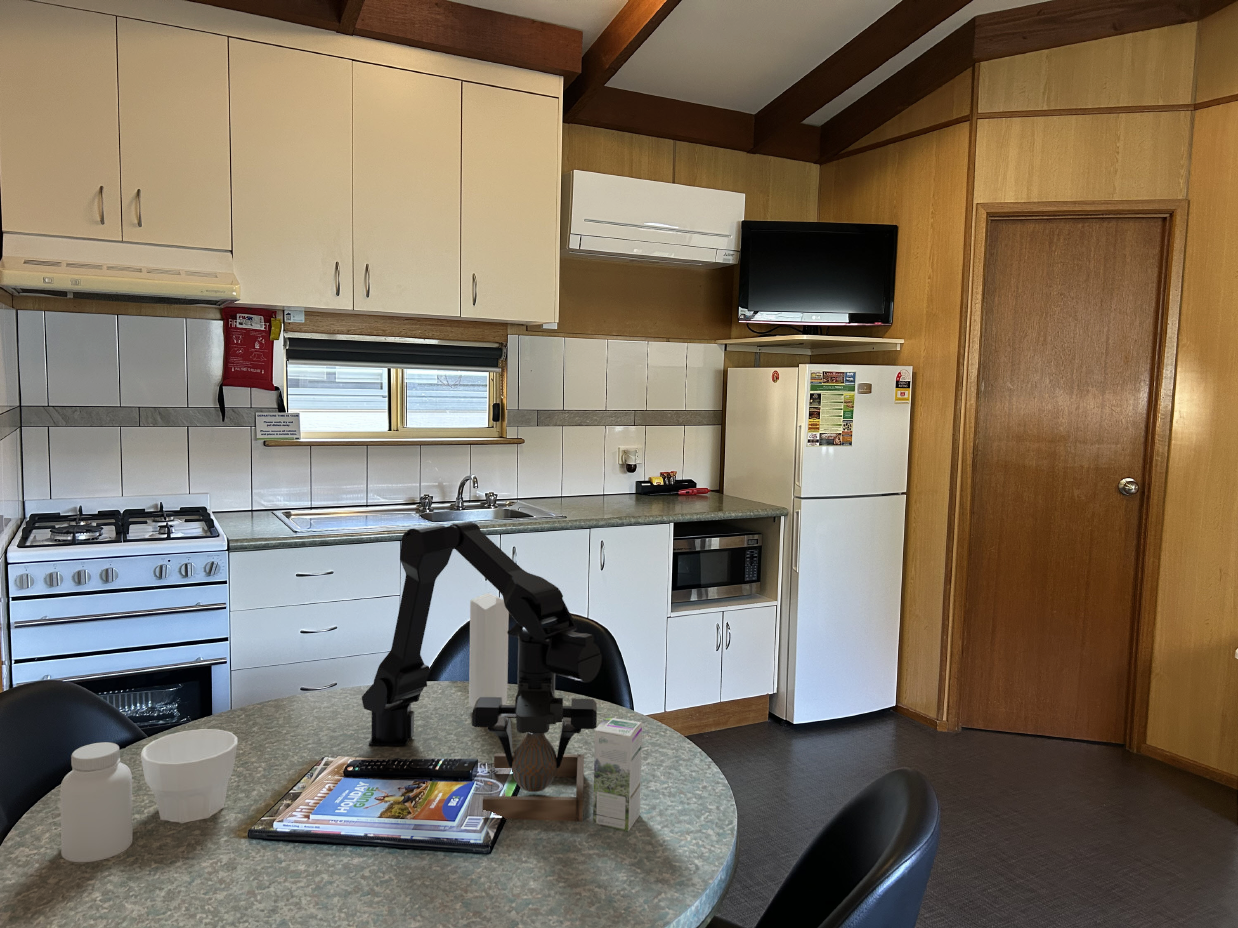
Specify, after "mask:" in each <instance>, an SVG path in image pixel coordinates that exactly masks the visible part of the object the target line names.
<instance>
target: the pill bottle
mask: <svg viewBox="0 0 1238 928" xmlns="http://www.w3.org/2000/svg"><path fill="white" fill-rule="evenodd" d="M70 758H71V761H70V762H71V768H72V770H71V771H70V772H68V773H67V774H66V775H65V776H64V778H63V779H62V781H61V784H60V790H59V791H60V794H59V795H60V798H59V799H60V838H61V839H60V843H61V844H60V846H61V848H60V849H61V850H60V851H61V853H60V854H61V857H62V858H63V859H65V860H66V861H69V862H73V863H91V862H96V861H97V862H98V861H101V860H105V859H109V858H111V857H112V858H113V857H115V856H117V855H119V854H122V852H124V851H126V850H127V849H128V848H129V847H131V845H132V843H133V774H132V772H131V769H130V768H129V766H128V765H126V764H125V763H122V762H121V758H120V746H119V745H118V744H116V743H115V742H106V741H105V742H96V743H91V744H86V745H84V746H80V747H79V748H77V749H75V750H74V751H73V752H72V754H71V756H70Z"/></svg>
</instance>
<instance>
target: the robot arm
mask: <svg viewBox="0 0 1238 928" xmlns="http://www.w3.org/2000/svg"><path fill="white" fill-rule="evenodd" d="M453 550H455V551H456V552H458V554H459V555H461V556H462V557H463V559H465V560H466V561H467V563H469V564H470V565H471V566H472V567H473V568H475V570H477V572H479V573H480V574H481V575H482V576H483V577H484V578H485V579H486V580H487V581H488V582H489V583H490V584H491V585H493V587H494V588H495V589H496V590H498V592H499V593H500V594H501V596H502V599H503V600H504V604H505V607H506V609H507V610H508V611H509V614H510V616H511V617H512V618H513V620H514V621H515V622H516V623H515V624H514V625H513V627H511V628H510V629H508V632H507V633H508V636H511V637H516V638H518V641H517V642H518V643H517V644H518V648H517V692H516V696H515V701H514V703H515V704H505V705H502V697H480V698H479V699H478V700H477V701H476V703H475V706H474V708H473V707H472V713H471V714H472V716H471V726H472V727H474V728H487V732H488V733H489V732H490V733H494V734H495V735H496V736H497V737H498V739H499V742H500V744H501V745H502V746H501V747H502V749H503V752H504V754H505V755H506V758H507V761H508V764H509V767H512V759H513V754H514V751H513V748H514V747H513V738H512V725H511V724H512V723H511V719H515V729H516V730H515V731H516V732H518V733H520V734H527V732H537V733H539V734H546V733H548V732H549V730H550V726H551V725H556V724H557V723H561V727H560V735H559V741H558V748H557V752H556V754H557V768H559V767H560V764H561V761H562V758H563V756H564V754H566V753H565V752H566V750H567V747H568V745H569V742H570V741H571V739H572V737H573V736H574V735H575V734H580V733H582V730H595V729H596V728H597V724H598V723H597V721H598V720H597V717H598V713H597V712H598V710H597V706H598V705H597V701H596V700H595V699H594V698H571V705H564V698H563V697H556V675H557V676H561V677H565V678H568V679H571V680H574V681H580V682H582V683H590V682H592V681H593V680H594V679H595V678H596V677H597V675H598V674H599V672H600V670H601V665H602V659H603V657H602V656H603V655H602V654H601V650H600V648H599V647H600V646H598V644H596V643H594V635H593V634H591V633H590V634H589V633H581V632H575V631H576V630H577V629H578V626H577V624H576V623H575V621H574V619H573V618H574V617H573V616H572V615H571V613H570V610H569V608H568V607H567V605H566V603H565V601H564V595H563V593H562V591H561V590H560V588H559V587H558V586H556V585H555V584H553V583H552V582H550V581H548V580H547V579H545V578H544V577H541V576H539V575H536V574H533V573H531V572H530V573H529V572H527V571H526V570H524V569H523V568H522V567H520V565H519V564H518V563H516V562H515V561H514V560H513V559H512V558H511V557H510V556H508V555H507V553H505V552H504V551H503V550H502V549H501V547H499V546H498V545H497V544H496V543H494V542H493V541H492V540H491V539H490V538H489V536H487V535H486V534H485V533H483V532H482V531H481V527H479V525H478V524H477V523H475V522H473V521H464V522H457V523H452V524H450V525H448V526H445V525H443V524H436V525H435V524H433V525H429V526H422V527H414V528H409V529H408V530H407V531H404V533H403V534H402V536H401V542H400V553H399V561H400V563H401V566H402V568H403V570H404V572H405V573H404V574H405V578H404V584H403V587H402V588H403V589H402V592H401V593H402V594H401V599H400V604H399V609H398V614H397V617H396V618H397V619H396V624H395V629H394V634H393V638H392V643H391V649H390V650H389V651H388V653H387V655H386V656H385V657H384V659H383V660H382V661H381V662H380V664H378V667H377V671H376V674H375V676H374V678H373V679H374V680H373V684H371V686H369V688H368V689H367V690H366V691H365V692H364V693H363V694H362V696H361V702H362V707H363V709H364V710H367V711H369V712H371V738H370V739H369V741H368V746H371V747H373V746H375V747H376V746H378V747H383V746H384V747H385V746H387V747H406V746H407V745H408V743H409V741H410V740H411V739H412V737H413V735H414V733H415V711H414V710H412V704H413V703H417V702H419V701H420V697H421V694H422V692H423V691H424V688H426V687H428V676H429V673H430V671H431V669H430V666H429V665H426V664H425V663H424V660H423V658H422V655H421V651H422V647H423V646H422V645H423V641H424V636H425V632H426V627H427V622H428V618H429V614H430V613H429V612H430V607H431V603H432V598H433V593H434V589H435V584H436V581H437V578H438V577H439V576H440V575H441V573H442V572H443V571H444V569H445V568H446V567H447V566H448V564H449V561H450V559H451V556H452V553H453ZM553 621H557V622H554V623H551V624H548V625H545V626H542V625H544V624H546V623H550V622H553Z"/></svg>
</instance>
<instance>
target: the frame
mask: <svg viewBox="0 0 1238 928" xmlns="http://www.w3.org/2000/svg"><path fill="white" fill-rule="evenodd" d="M513 755H514V753H513ZM556 757H557V753H556ZM584 760H585V754H581V753H580V754H578V753H577V754H573V753H571V754H569V753H568V754H567V753H564V756H563V758H562V761H561V764H560V767H559V768H557V770H556V774H555V777H554V778H557V777H559V778H576V793H575V794H576V796H525V795H524V796H521V795H520V796H519V795H518V796H517V795H515V796H514V795H512V796H511V795H508V796H507V795H506V796H502V795H498V796H497V795H492V796H491V795H483V796H482V811H483V810H486V811H491V812H493V813H496V814H497V815H500V816H503V817H504V818H505V819H504V820H519V821H520V820H525V821H526V820H527V821H528V820H529V821H551V822H552V821H554V822H555V821H556V822H583V821H584V819H583V816H584V815H583V811H584V809H583V808H584V773H585V771H584V770H585V769H584V768H585V767H584V766H585V763H584V762H585V761H584ZM494 767H495V768H512V767H509V764H508V761H507V758H506V755H505V753H494V756H493V768H494Z"/></svg>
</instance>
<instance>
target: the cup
mask: <svg viewBox="0 0 1238 928" xmlns="http://www.w3.org/2000/svg"><path fill="white" fill-rule="evenodd" d="M238 740H239V738H238V737H237V736H236V735H235V734H233V732H231V731H227V730H222V729H211V728H209V729H208V728H201V729H192V730H191V729H190V730H184V731H179V732H176V733H175V732H174V733H171V734H166V735H164V736H162V737H160V738H158V739H157V738H156V739H154V740H152V741H151V742H150V743H148V744H147V745H145V746H144V747H143V748H142V750H141V753H140V759H141V766H142V770H143V775H144V781H145V783H146V785H147V786H148V787H149V788H150V789H151V792H153V794H154V798H155V802H156V807H157V811H158V815H159V819H160V821H168V822H172V823H173V822H174V823H179V824H185V823H188V822H194V821H199V820H204V819H209V818H210V817H211V816H213V815H215V814H216V813H218V812H219V811H220V810H222V809H224V807H225V802H226V799H227V798H226V795H227V791H228V786H229V780H230V778H231V777H232V774H233V772H234V770H235V769H234V768H235V762H236V761H235V760H236V756H237V749H238Z"/></svg>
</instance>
